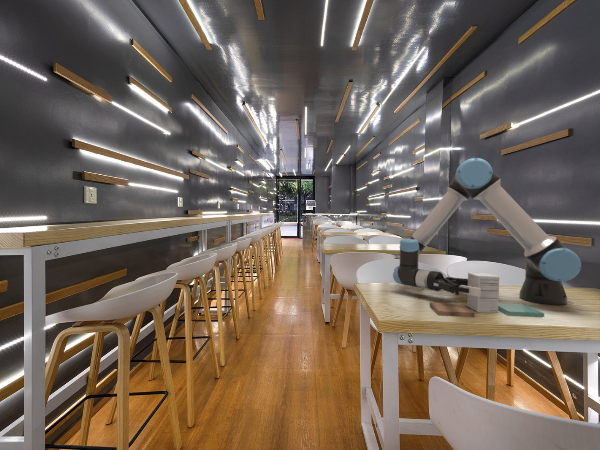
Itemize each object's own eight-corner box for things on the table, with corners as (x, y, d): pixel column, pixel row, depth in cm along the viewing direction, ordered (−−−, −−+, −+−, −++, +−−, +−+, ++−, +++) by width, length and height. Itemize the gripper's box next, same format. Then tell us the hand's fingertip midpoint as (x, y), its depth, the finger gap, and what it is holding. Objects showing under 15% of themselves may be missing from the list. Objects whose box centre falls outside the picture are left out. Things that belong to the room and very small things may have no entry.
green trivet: (524, 309, 116) (525, 304, 116) (544, 319, 105) (544, 313, 105) (492, 308, 117) (492, 302, 117) (507, 317, 106) (508, 311, 106)
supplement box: (466, 306, 117) (467, 272, 117) (487, 307, 117) (488, 272, 116) (476, 312, 110) (477, 275, 109) (499, 313, 109) (500, 276, 109)
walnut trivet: (461, 309, 115) (461, 303, 115) (474, 318, 104) (474, 312, 104) (429, 307, 116) (429, 302, 116) (439, 317, 106) (439, 311, 106)
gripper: (445, 285, 136) (501, 295, 119) (412, 293, 120) (472, 306, 104) (445, 267, 136) (502, 275, 119) (413, 273, 120) (473, 283, 103)
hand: (488, 289), depth 111 cm, fingers open, 13 cm apart
